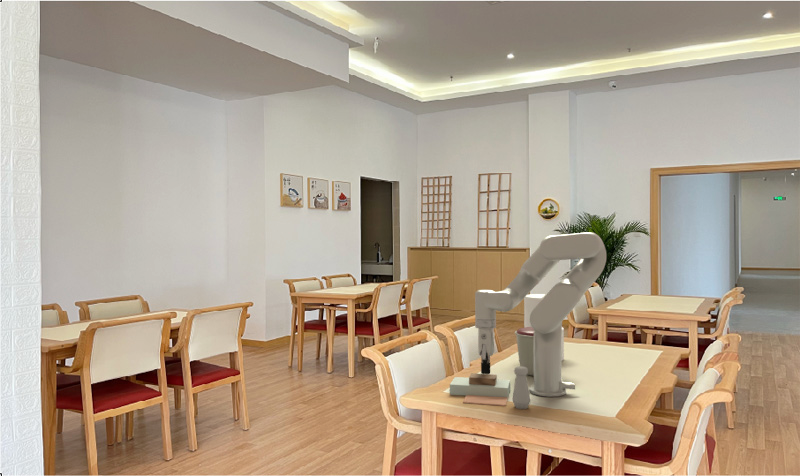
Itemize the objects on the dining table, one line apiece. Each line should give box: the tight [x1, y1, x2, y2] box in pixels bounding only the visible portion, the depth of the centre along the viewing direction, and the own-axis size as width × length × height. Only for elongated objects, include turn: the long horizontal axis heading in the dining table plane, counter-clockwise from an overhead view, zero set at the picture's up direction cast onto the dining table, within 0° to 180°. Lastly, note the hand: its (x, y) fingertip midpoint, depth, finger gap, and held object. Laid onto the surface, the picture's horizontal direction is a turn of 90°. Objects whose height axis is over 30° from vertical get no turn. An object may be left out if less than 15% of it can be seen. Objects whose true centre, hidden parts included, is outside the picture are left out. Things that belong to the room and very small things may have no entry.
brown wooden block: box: [468, 373, 498, 386], centre depth 202 cm, size 9×6×2 cm, turn 75°
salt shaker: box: [512, 365, 532, 410], centre depth 184 cm, size 6×6×13 cm
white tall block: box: [523, 293, 565, 362], centre depth 257 cm, size 17×17×28 cm
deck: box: [449, 376, 511, 399], centre depth 202 cm, size 20×11×4 cm, turn 75°
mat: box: [462, 395, 509, 407], centre depth 192 cm, size 14×9×1 cm, turn 75°
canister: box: [514, 327, 534, 377], centre depth 229 cm, size 18×18×21 cm
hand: (485, 373), depth 210 cm, fingers closed
